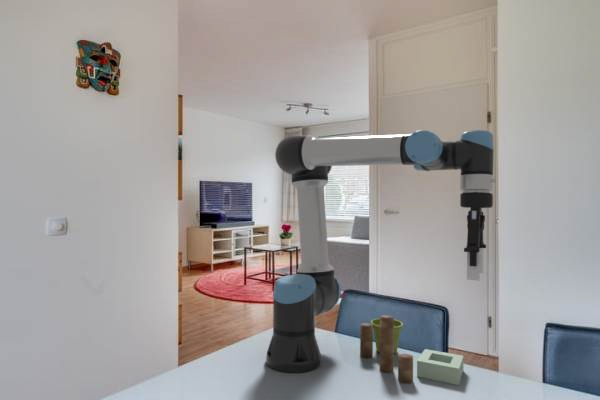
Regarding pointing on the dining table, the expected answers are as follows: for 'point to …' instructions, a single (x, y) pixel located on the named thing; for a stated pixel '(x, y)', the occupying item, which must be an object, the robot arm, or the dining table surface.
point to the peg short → (405, 368)
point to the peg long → (386, 343)
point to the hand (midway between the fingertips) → (475, 276)
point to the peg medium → (366, 340)
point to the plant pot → (377, 333)
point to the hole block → (440, 366)
